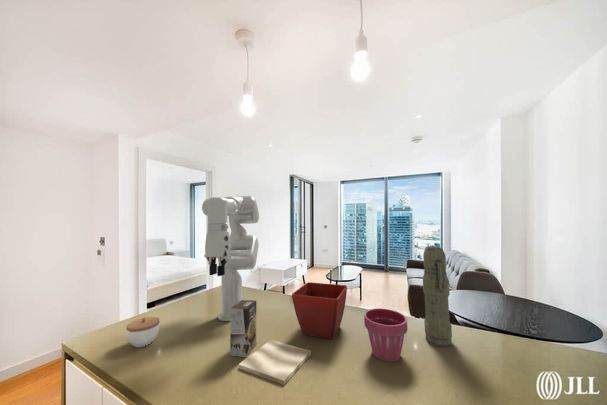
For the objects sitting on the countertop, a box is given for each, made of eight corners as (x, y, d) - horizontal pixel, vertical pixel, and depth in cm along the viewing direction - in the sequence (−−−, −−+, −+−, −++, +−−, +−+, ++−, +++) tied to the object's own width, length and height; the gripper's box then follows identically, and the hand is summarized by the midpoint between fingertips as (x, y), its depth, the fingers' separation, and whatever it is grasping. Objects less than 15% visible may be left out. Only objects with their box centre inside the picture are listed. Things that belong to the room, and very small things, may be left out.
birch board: (270, 343, 90) (270, 339, 90) (310, 354, 82) (310, 350, 82) (238, 368, 75) (238, 364, 75) (284, 385, 67) (284, 380, 67)
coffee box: (246, 357, 81) (246, 309, 82) (229, 355, 82) (229, 307, 83) (257, 343, 90) (257, 300, 91) (241, 342, 91) (241, 299, 92)
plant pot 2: (410, 370, 73) (408, 327, 74) (363, 361, 78) (361, 321, 79) (407, 347, 86) (405, 310, 87) (367, 340, 91) (366, 306, 92)
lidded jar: (165, 338, 95) (166, 314, 95) (139, 353, 85) (140, 325, 85) (146, 334, 98) (146, 311, 99) (118, 348, 88) (119, 322, 89)
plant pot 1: (291, 337, 95) (290, 293, 96) (308, 318, 112) (307, 281, 114) (338, 346, 88) (337, 299, 89) (348, 324, 105) (347, 285, 106)
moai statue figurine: (442, 333, 96) (437, 245, 98) (459, 349, 84) (454, 249, 87) (419, 333, 96) (415, 245, 99) (434, 349, 85) (429, 249, 87)
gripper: (239, 228, 95) (239, 275, 94) (210, 227, 103) (210, 271, 101) (225, 229, 88) (225, 279, 87) (195, 228, 96) (194, 275, 95)
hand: (217, 274), depth 94 cm, fingers open, 3 cm apart
